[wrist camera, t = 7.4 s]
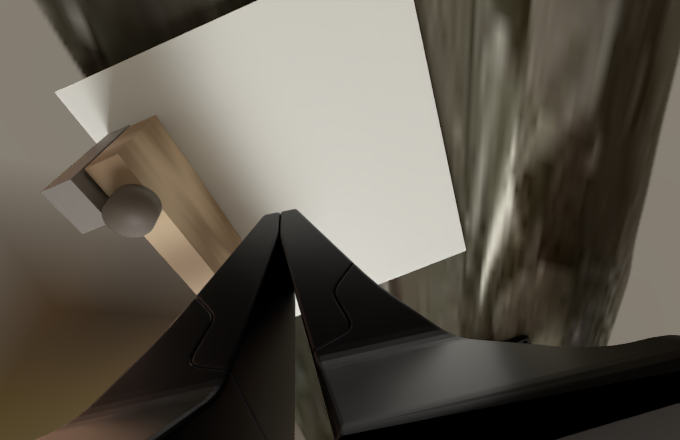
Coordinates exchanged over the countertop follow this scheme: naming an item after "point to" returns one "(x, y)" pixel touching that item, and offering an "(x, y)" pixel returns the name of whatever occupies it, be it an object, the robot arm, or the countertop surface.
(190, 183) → the gate
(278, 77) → the white flat posted base
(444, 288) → the countertop surface
